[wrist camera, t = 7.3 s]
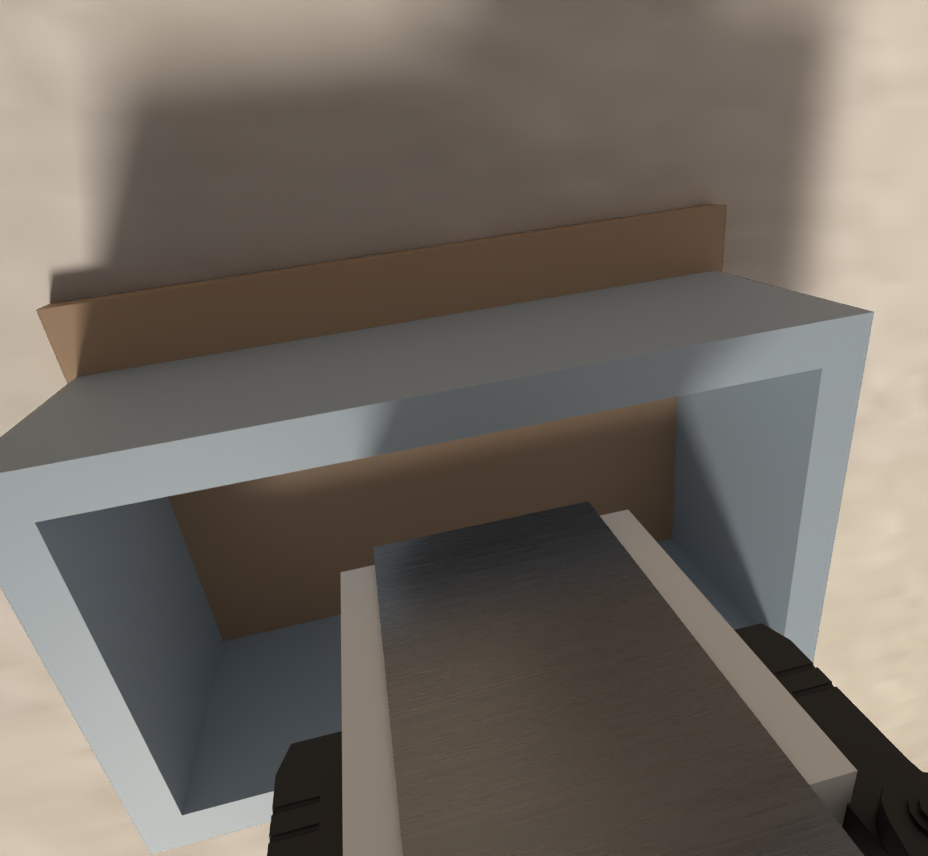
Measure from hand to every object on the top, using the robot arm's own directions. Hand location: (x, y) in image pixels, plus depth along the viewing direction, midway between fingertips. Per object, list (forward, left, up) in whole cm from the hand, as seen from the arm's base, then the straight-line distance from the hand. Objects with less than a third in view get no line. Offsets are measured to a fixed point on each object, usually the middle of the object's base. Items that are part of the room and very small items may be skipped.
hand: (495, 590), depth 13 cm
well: (+1, 0, -9) cm, 9 cm away
